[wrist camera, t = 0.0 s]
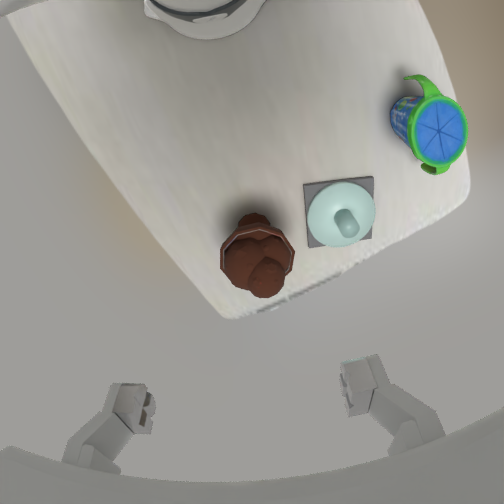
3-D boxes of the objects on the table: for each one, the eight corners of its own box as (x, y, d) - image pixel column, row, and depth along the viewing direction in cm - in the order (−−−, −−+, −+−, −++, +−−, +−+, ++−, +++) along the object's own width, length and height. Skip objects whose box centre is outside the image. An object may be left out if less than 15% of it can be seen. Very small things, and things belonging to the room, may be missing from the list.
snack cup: (372, 74, 37) (405, 79, 29) (427, 70, 36) (465, 77, 28) (385, 165, 46) (414, 189, 38) (434, 156, 45) (468, 178, 37)
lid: (304, 186, 47) (311, 199, 43) (373, 177, 47) (386, 190, 42) (308, 248, 54) (314, 265, 50) (371, 238, 53) (381, 254, 49)
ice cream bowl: (288, 199, 49) (306, 251, 37) (281, 255, 56) (293, 315, 43) (223, 196, 49) (218, 248, 36) (222, 253, 55) (218, 314, 42)
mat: (303, 184, 48) (304, 186, 47) (372, 176, 47) (373, 177, 47) (308, 245, 55) (308, 248, 54) (369, 236, 54) (371, 238, 53)
